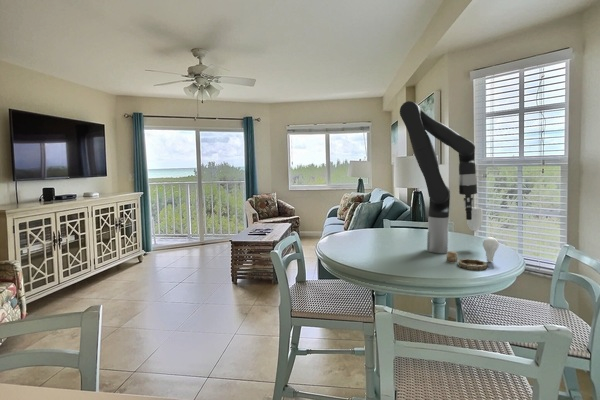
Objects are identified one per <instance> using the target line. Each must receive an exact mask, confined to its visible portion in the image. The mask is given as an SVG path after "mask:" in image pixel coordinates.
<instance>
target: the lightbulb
mask: <svg viewBox="0 0 600 400" xmlns="http://www.w3.org/2000/svg"><path fill="white" fill-rule="evenodd" d="M499 245H500V244H499V241H498V240H497V239H496V238H495V237H491V236H488V237H486V238H484V239H483V241H482V247H483V249H484V251H485V256H486V261H487V262H488V263H492V262H494V257H495V254H496V251H497V250H498V248H499Z"/></svg>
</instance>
